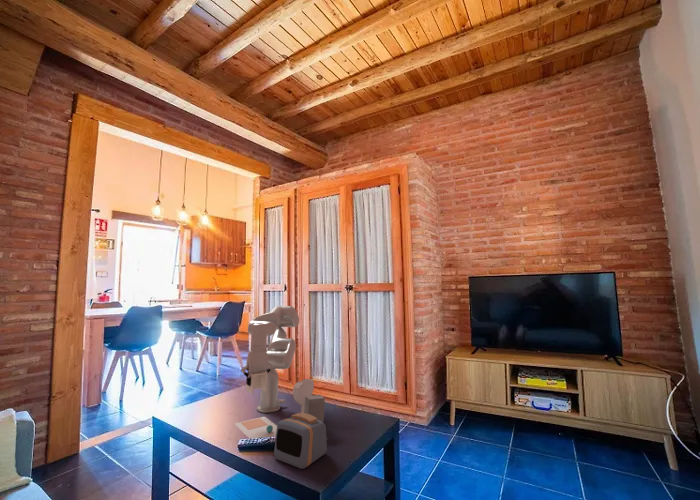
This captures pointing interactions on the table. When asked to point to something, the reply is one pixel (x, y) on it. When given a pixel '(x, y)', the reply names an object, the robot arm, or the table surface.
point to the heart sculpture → (303, 391)
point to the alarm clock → (300, 440)
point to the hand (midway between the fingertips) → (256, 383)
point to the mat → (257, 427)
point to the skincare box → (315, 406)
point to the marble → (269, 428)
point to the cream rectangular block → (257, 381)
